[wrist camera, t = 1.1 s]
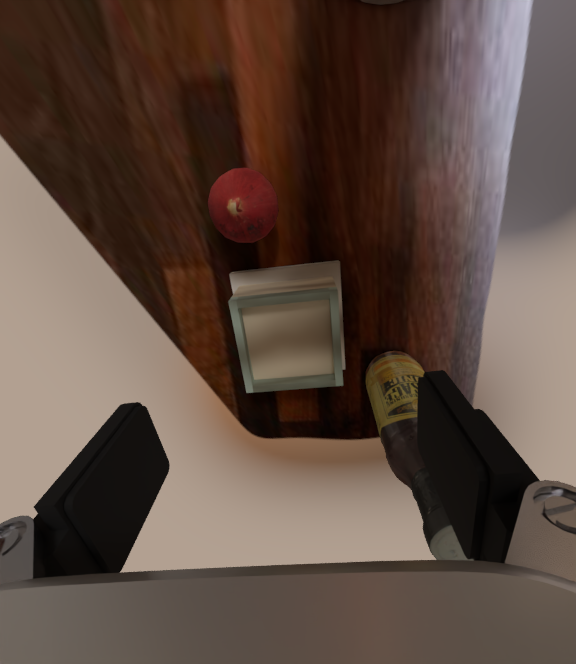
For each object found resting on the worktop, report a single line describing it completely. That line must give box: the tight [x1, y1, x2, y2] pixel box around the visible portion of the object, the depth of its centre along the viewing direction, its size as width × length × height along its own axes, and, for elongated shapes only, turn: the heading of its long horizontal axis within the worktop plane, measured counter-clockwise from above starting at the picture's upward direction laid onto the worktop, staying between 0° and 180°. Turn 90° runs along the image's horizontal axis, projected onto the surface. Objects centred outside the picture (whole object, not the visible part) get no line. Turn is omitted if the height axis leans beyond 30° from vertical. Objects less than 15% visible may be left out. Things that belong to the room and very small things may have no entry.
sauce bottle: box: [366, 351, 474, 561], centre depth 27 cm, size 7×6×20 cm
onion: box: [208, 168, 279, 243], centre depth 26 cm, size 6×6×8 cm
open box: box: [228, 260, 345, 393], centre depth 32 cm, size 12×11×6 cm
